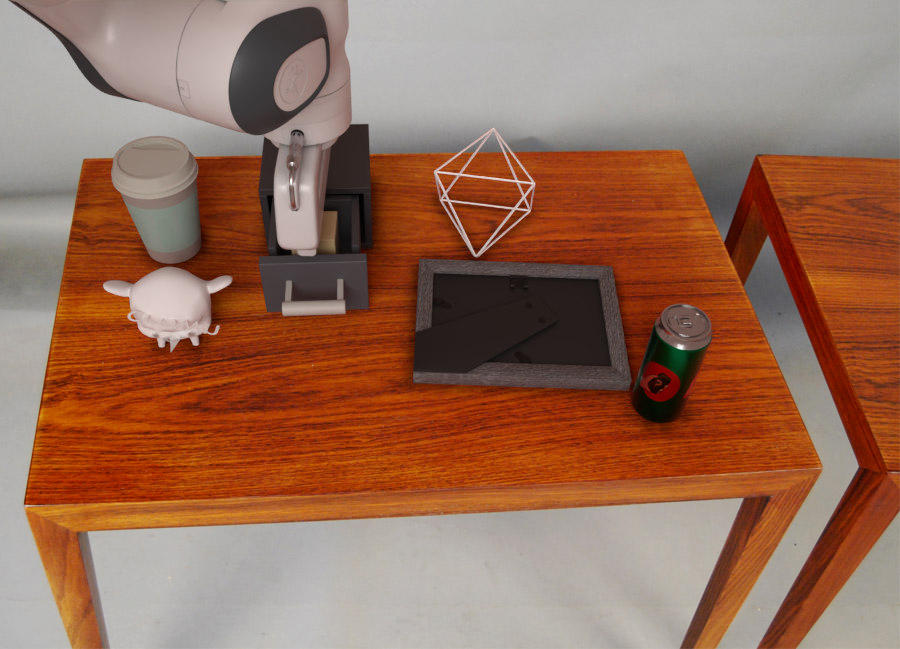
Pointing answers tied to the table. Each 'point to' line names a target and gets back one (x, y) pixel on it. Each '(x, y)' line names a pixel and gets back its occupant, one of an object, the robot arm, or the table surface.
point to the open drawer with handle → (318, 269)
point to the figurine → (170, 304)
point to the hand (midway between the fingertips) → (311, 223)
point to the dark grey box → (331, 176)
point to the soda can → (671, 363)
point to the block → (328, 235)
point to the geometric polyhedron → (484, 178)
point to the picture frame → (519, 326)
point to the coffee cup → (161, 195)
